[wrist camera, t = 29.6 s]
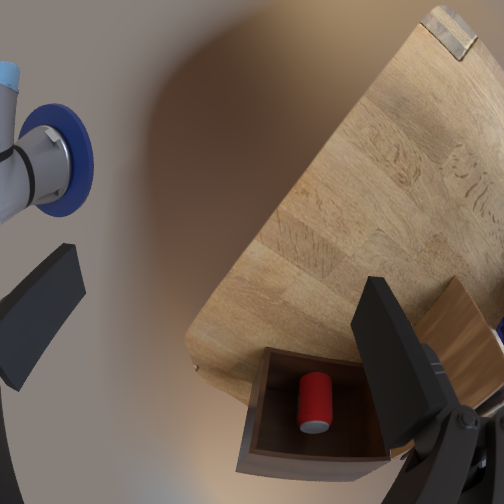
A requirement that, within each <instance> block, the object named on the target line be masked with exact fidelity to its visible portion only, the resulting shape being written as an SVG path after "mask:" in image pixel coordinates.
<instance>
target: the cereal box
mask: <svg viewBox="0 0 504 504" xmlns="http://www.w3.org/2000/svg"><path fill="white" fill-rule="evenodd" d="M496 332H497V333H498V335H499V337H500V339H501V341H502V343H503V345H504V317H503V319H502V321H501V323H500V325H499V326H498V328H497V330H496Z"/></svg>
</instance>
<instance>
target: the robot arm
mask: <svg viewBox="0 0 504 504" xmlns="http://www.w3.org/2000/svg"><path fill="white" fill-rule="evenodd" d="M19 74H20V70H19V67H18V65H17V64H15V63H12V62H6V61H0V225H1V224H2V223H4V222H5V221H7V220H8V219H10V218H11V217H13V216H14V215H16V214H17V213H19V212H20V211H22V210H23V209H25V208H26V207H28V206H30V205H37V204H45V203H51V202H54V201H56V200H58V199H60V198H61V197H63V196H64V195H65V194H66V193H67V192H68V190H69V188H70V186H71V183H72V180H73V174H74V161H73V155H72V151H71V147H70V145H69V142H68V140H67V138H66V137H65V135H64V134H63V133H62V131H61V130H60V129H58V128H57V127H55V126H53V125H50V124H45V125H41V126H38V127H35V128H34V129H32V130H30V131H29V132H28V133H27V134H25V135H24V136H23V137H22V138H21V139H19V140H18V141H17V142H16V143H15V144H14V125H15V113H16V102H17V95H18V94H19V89H18V84H19ZM85 294H86V291H85V287H84V283H83V279H82V275H81V270H80V266H79V261H78V256H77V252H76V247H75V245H74V244H66V243H63V244H62V245H61V246H59V247H58V248H57V249H56V250H55V251H54V252H53V253H51V254H50V255H49V256H48V257H47V258H46V259H45V260H44V261H43V262H41V263H40V264H39V265H38V266H37V267H36V268H35V269H34V270H33V271H32V272H31V273H30V274H29V275H28V276H27V277H26V278H25V279H24V280H22V282H21V283H19V285H17V286H16V288H15V289H13V291H12V292H11V293H10V294H8V295H7V296H5V297H4V298H2V300H1V301H0V377H1V378H2V379H3V381H4V382H5V384H6V385H7V386H9V387H11V388H13V389H14V390H16V391H18V392H19V391H20V389H21V387H22V386H23V384H24V382H25V380H26V379H27V377H28V376H29V374H30V372H31V371H32V369H33V368H34V366H35V365H36V363H37V361H38V360H39V358H40V357H41V355H42V354H43V352H44V350H45V349H46V348H47V346H48V345H49V343H50V341H51V340H52V339H53V337H54V336H55V334H56V333H57V331H58V330H59V329H60V327H61V326H62V325H63V323H64V322H65V320H66V319H67V318H68V316H69V315H70V314H71V312H72V311H73V310H74V308H75V307H76V306H77V304H78V303H79V302H80V301H81V299H82V298H83V297H84V295H85ZM350 325H351V328H352V331H353V334H354V337H355V340H356V343H357V346H358V350H359V353H360V356H361V359H362V363H363V366H364V369H365V373H366V376H367V379H368V383H369V386H370V390H371V394H372V397H373V401H374V405H375V408H376V412H377V416H378V420H379V424H380V428H381V432H382V436H383V440H384V445H385V449H386V450H389V449H394V448H399V447H404V446H405V445H406V444H408V443H409V442H410V441H411V440H412V439H413V440H414V444H415V446H414V447H412V448H411V449H410V450H409V451H408V452H406V453H405V454H404V455H403V456H402V457H401V460H403V459H405V458H406V457H407V456H408V457H407V459H406V461H405V463H404V465H403V467H402V469H401V470H400V472H399V474H398V476H397V478H396V480H395V482H394V483H393V485H392V487H391V488H390V490H389V492H388V493H387V495H386V497H385V498H384V500H383V501H382V503H381V504H504V409H500V410H499V411H498V412H497V413H496V414H495V415H494V416H493V417H481V416H478V414H477V413H476V412H475V410H474V409H472V408H471V407H469V406H466V405H461V404H460V402H459V400H458V397H457V395H456V393H455V391H454V389H453V386H452V384H451V382H450V380H449V378H448V376H447V374H446V373H445V370H444V368H443V366H442V365H441V362H440V360H439V358H438V356H437V354H436V352H435V351H434V350H433V349H432V348H431V347H430V346H429V345H428V344H427V343H420V342H419V340H418V338H417V336H416V334H415V332H414V330H413V328H412V326H411V324H410V323H409V321H408V319H407V317H406V315H405V314H404V312H403V310H402V308H401V306H400V305H399V303H398V301H397V299H396V298H395V296H394V294H393V292H392V291H391V289H390V287H389V286H388V284H387V282H386V281H385V279H384V277H372V276H368V279H367V282H366V284H365V287H364V290H363V293H362V296H361V298H360V301H359V304H358V306H357V309H356V312H355V314H354V317H353V319H352V322H351V324H350ZM485 459H486V466H485V467H482V461H484V460H485ZM0 504H24V502H23V499H22V496H21V493H20V490H19V486H18V483H17V480H16V476H15V473H14V469H13V465H12V461H11V457H10V452H9V447H8V443H7V437H6V431H5V425H4V418H3V410H2V402H1V388H0Z"/></svg>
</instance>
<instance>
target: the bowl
mask: <svg viewBox="0 0 504 504" xmlns="http://www.w3.org/2000/svg"><path fill="white" fill-rule="evenodd" d="M500 409H504V385H503V386H502V387H501V388H500V389H499V390H498V391H496V392H495V393H494V394H493V395H492V396H491V397H489V398H488V399H487V400H486V401H484V402H483V403H482V404H481V405H479V406H478V407H477V408H476V409H474V410H475V412H476V413H477V414H478V416H481V417H493V416H494V415H495V414H496V413H497V412H498V411H499V410H500Z"/></svg>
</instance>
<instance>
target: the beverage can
mask: <svg viewBox="0 0 504 504" xmlns="http://www.w3.org/2000/svg"><path fill="white" fill-rule="evenodd" d="M332 420H333V408H332V381H331V378H330V376H329V375H327V374H325V373H321V372H312V373H309V374H306V375H304V376H303V377H301V379H300V381H299V394H298V410H297V423H298V425H299V427H300V430H301V431H302V432H305V433H310V434H316V433H322V432H325V431H327V430H328V429H329V426H330V424H331V422H332Z"/></svg>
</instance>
